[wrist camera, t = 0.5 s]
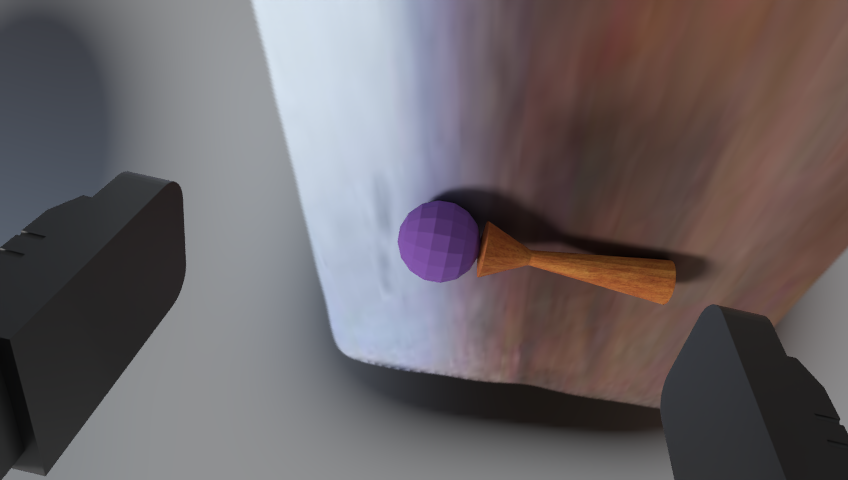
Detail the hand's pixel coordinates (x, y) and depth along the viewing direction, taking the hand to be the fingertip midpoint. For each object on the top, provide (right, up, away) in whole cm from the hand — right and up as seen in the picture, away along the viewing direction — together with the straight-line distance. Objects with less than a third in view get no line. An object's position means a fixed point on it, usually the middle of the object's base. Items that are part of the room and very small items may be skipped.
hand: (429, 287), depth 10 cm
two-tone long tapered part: (+9, +1, +39) cm, 40 cm away
